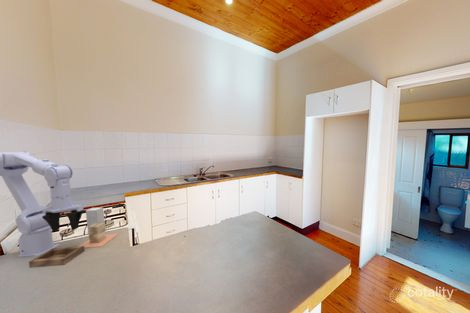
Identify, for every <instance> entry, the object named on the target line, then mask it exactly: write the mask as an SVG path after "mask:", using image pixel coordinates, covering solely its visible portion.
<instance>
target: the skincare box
mask: <svg viewBox="0 0 470 313" xmlns="http://www.w3.org/2000/svg"><path fill="white" fill-rule="evenodd" d="M85 215H86V225H87V228H88V227H90V226H92V225H93V224H96V223H104V226H105V231H106V223H105V222H106V221H105V213H104V207H91V208H88V209H86V210H85ZM87 233H88V235H89V231H88V230H87Z"/></svg>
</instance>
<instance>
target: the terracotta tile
mask: <svg viewBox="0 0 470 313" xmlns="http://www.w3.org/2000/svg"><path fill="white" fill-rule="evenodd" d="M119 234H120V233H109V234H106V233H105V235H106V238H105V239H104V240H102V241H101V242H99V243H90V240H89V239H88V240H86V241H84V242H82V243H81V244H79V245H78V246H77V247H79V246H84V249H93V248H102V247H104V246H105V245H107V244H108V243H109V242H111V241H112V240H113V239H114V238H116V237H117V236H119Z"/></svg>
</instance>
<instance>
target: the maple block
mask: <svg viewBox="0 0 470 313" xmlns="http://www.w3.org/2000/svg"><path fill="white" fill-rule="evenodd" d="M105 228H106V225H105V226H104V223H96V224H93V225H92V226H90V227H88V226H87V232H88V231H89V234H88V238H89V239H88V240H90V243H99V242H101V241H102V240H104V239H105V238H106V230H105Z"/></svg>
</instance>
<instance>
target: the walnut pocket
mask: <svg viewBox="0 0 470 313" xmlns="http://www.w3.org/2000/svg"><path fill="white" fill-rule="evenodd" d="M78 246H79V245H78ZM78 246H69V247H54V248H52V249H50V250H49V251H47V252H45V253H43V254H41V255H37V257H35V258H33V259H31V260H30V261H28V264H29V265H28V266H29V268H39V267H52V266H53V267H54V266H65V265H67V264H68V263H69V262H71V261H73V260H74V259H75V258H77V257H78V256H79V255H81V254H82V253H84V252H85V248H84V246H79V247H78Z"/></svg>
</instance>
